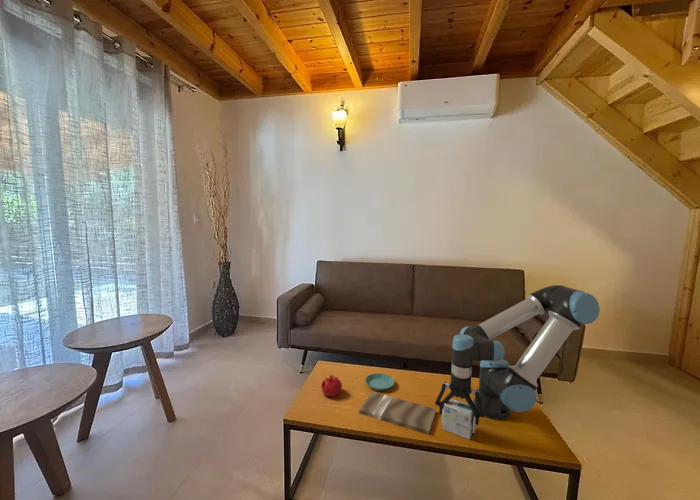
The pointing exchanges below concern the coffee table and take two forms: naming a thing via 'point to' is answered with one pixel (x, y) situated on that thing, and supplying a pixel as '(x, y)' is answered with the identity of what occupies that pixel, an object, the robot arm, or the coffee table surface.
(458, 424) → the light bulb box
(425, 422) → the board
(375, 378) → the saucer
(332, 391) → the pomegranate
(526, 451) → the coffee table surface
